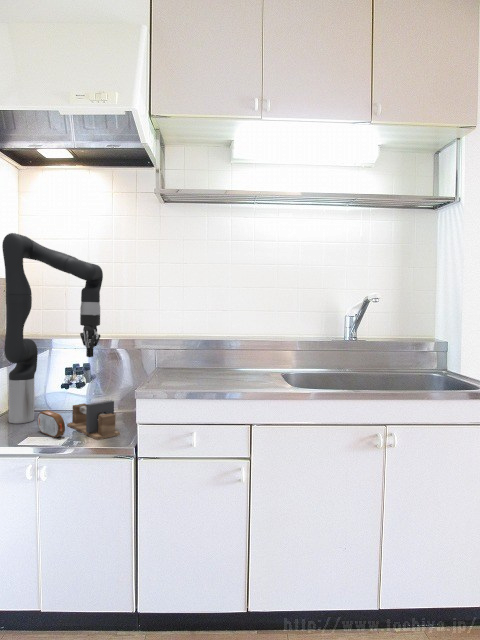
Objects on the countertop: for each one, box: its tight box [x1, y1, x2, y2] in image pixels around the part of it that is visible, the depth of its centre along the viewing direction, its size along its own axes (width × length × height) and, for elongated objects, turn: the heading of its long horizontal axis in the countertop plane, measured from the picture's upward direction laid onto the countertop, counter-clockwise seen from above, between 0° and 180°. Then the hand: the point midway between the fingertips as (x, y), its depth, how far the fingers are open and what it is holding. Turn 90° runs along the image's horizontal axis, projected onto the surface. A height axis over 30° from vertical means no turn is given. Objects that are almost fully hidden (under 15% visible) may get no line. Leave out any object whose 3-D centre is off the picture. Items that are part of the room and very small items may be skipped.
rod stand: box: [67, 403, 121, 441], centre depth 160 cm, size 24×9×8 cm, turn 46°
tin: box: [37, 409, 66, 439], centre depth 153 cm, size 15×3×8 cm, turn 53°
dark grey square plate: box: [85, 400, 115, 433], centre depth 156 cm, size 2×10×10 cm, turn 136°
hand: (89, 356), depth 168 cm, fingers closed
